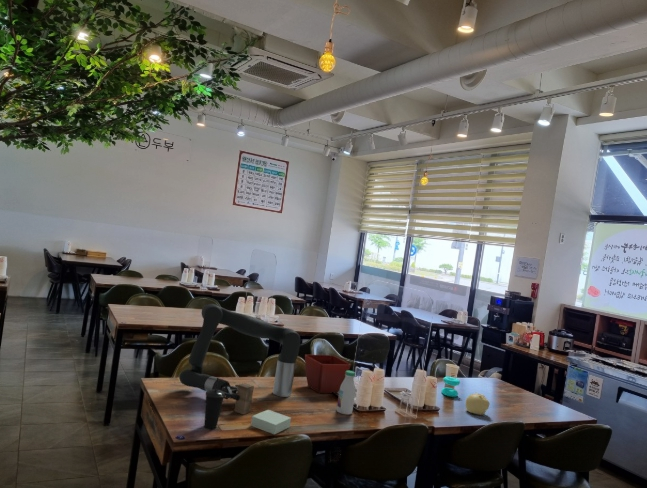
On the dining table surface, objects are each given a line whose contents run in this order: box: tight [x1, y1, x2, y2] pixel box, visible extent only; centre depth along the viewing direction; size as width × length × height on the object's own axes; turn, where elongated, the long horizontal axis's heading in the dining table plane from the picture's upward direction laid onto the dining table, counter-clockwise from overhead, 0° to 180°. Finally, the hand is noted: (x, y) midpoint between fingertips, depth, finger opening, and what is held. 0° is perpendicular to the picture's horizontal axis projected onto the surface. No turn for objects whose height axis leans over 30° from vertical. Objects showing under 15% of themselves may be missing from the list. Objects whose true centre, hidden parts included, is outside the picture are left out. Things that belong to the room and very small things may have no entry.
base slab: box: [250, 409, 292, 435], centre depth 215 cm, size 12×12×4 cm
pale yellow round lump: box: [464, 392, 490, 416], centre depth 279 cm, size 11×12×11 cm
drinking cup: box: [203, 377, 226, 430], centre depth 205 cm, size 8×8×20 cm
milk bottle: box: [336, 370, 356, 416], centre depth 247 cm, size 8×8×20 cm
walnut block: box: [233, 382, 255, 415], centre depth 227 cm, size 5×5×12 cm
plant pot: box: [304, 354, 351, 394], centre depth 279 cm, size 19×19×17 cm
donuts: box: [441, 376, 461, 398], centre depth 308 cm, size 10×10×10 cm
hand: (245, 396), depth 227 cm, fingers open, 8 cm apart
